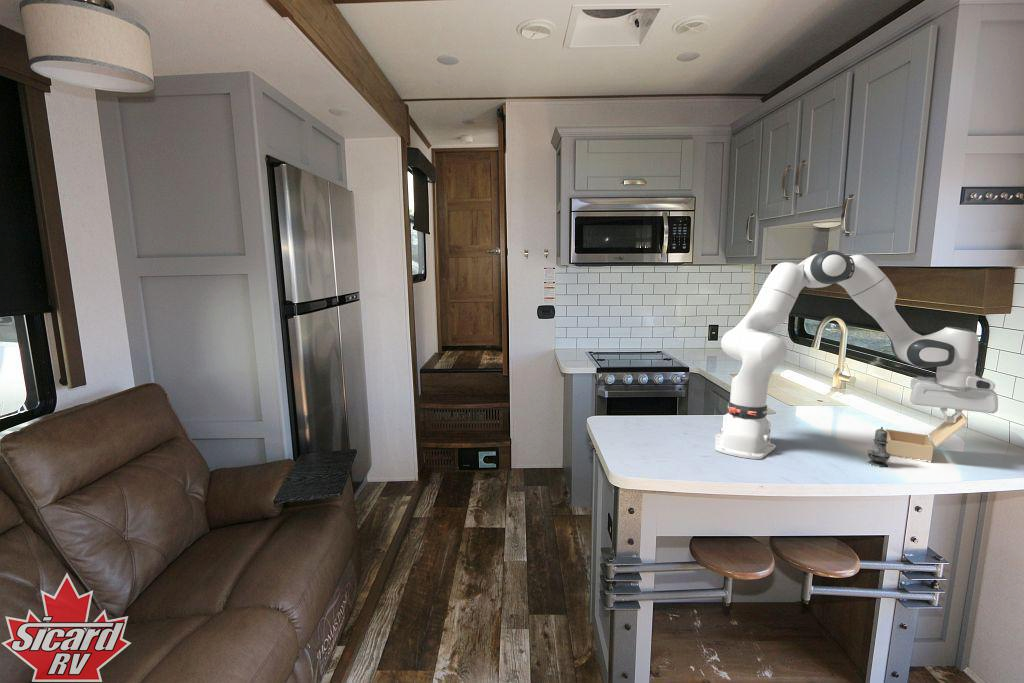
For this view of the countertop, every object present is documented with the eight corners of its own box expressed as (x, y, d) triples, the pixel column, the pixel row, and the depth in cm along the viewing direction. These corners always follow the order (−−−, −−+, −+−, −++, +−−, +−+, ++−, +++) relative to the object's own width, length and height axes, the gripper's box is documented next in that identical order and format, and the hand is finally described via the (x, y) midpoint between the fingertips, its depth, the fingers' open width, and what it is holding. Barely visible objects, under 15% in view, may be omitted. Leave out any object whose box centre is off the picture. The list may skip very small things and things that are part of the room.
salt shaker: (884, 469, 145) (889, 430, 143) (862, 462, 150) (866, 425, 148) (893, 465, 148) (897, 427, 146) (870, 459, 153) (875, 422, 151)
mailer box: (931, 462, 150) (933, 446, 150) (887, 454, 157) (888, 439, 156) (925, 449, 162) (927, 434, 161) (884, 442, 168) (885, 428, 167)
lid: (932, 444, 150) (937, 447, 149) (965, 418, 145) (970, 421, 144) (926, 432, 161) (930, 435, 161) (956, 407, 156) (960, 410, 156)
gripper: (912, 377, 153) (908, 419, 155) (1002, 385, 141) (996, 430, 143) (910, 373, 158) (906, 414, 160) (997, 381, 146) (991, 425, 148)
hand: (949, 422), depth 151 cm, fingers closed
